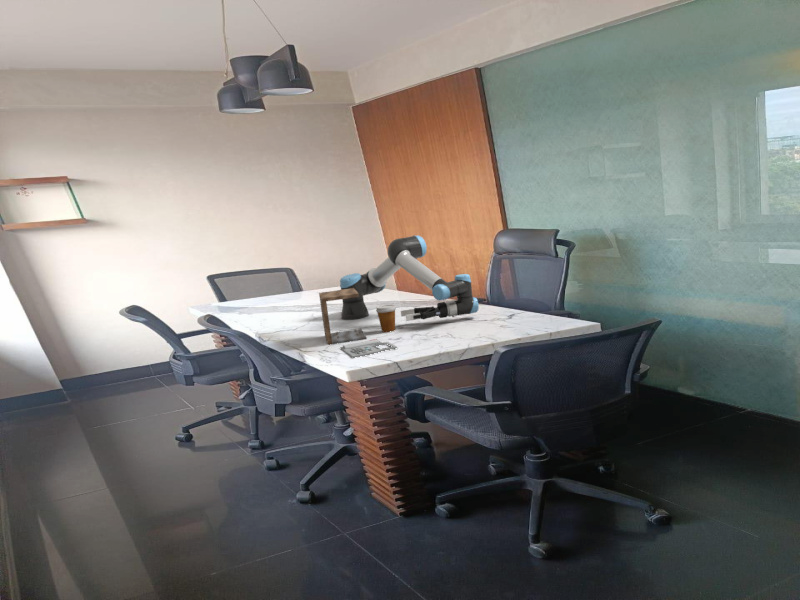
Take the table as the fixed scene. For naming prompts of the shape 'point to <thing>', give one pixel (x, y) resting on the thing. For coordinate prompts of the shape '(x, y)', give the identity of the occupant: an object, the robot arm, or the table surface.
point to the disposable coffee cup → (386, 317)
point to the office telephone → (365, 348)
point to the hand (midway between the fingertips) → (403, 315)
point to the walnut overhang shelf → (330, 337)
